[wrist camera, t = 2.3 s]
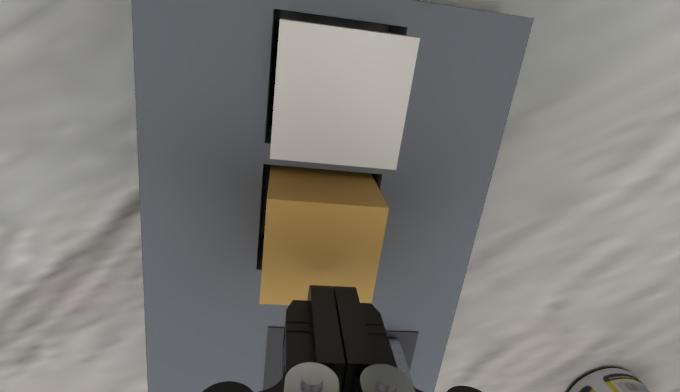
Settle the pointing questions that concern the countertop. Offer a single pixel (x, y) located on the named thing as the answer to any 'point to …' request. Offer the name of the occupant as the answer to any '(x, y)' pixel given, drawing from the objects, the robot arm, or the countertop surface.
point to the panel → (254, 152)
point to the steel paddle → (400, 357)
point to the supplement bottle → (609, 382)
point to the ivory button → (341, 94)
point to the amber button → (321, 233)
